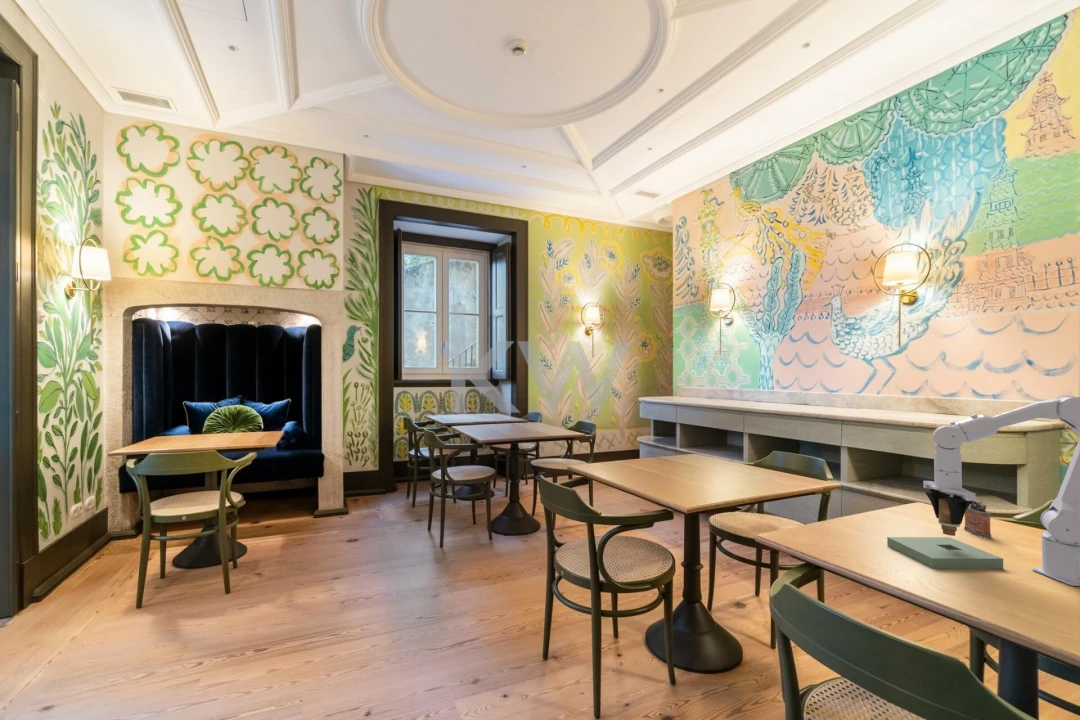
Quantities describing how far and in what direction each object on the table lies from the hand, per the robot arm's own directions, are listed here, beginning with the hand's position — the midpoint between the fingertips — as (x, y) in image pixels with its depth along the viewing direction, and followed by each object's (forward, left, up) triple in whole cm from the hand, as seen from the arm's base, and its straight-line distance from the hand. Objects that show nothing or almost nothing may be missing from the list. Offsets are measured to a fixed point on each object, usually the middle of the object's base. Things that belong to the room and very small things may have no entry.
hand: (948, 520), depth 132 cm
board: (0, +2, -10) cm, 10 cm away
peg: (0, 0, -3) cm, 4 cm away
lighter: (+19, -25, -10) cm, 33 cm away
